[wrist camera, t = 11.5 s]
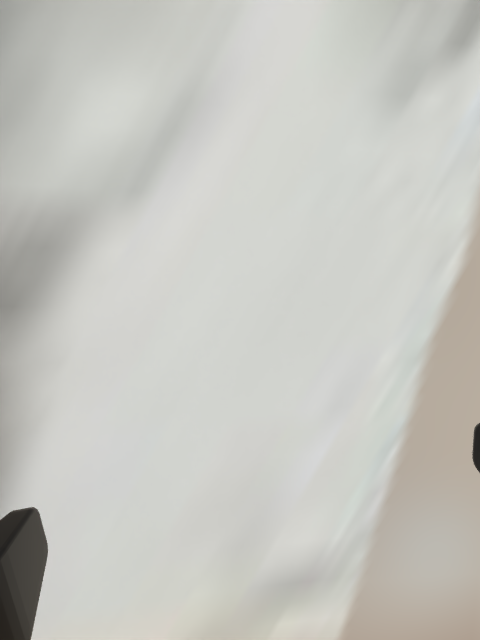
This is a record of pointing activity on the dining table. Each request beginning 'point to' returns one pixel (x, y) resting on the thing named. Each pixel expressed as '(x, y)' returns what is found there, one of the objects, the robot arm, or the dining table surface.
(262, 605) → the dining table surface
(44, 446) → the dining table surface
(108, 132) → the dining table surface
